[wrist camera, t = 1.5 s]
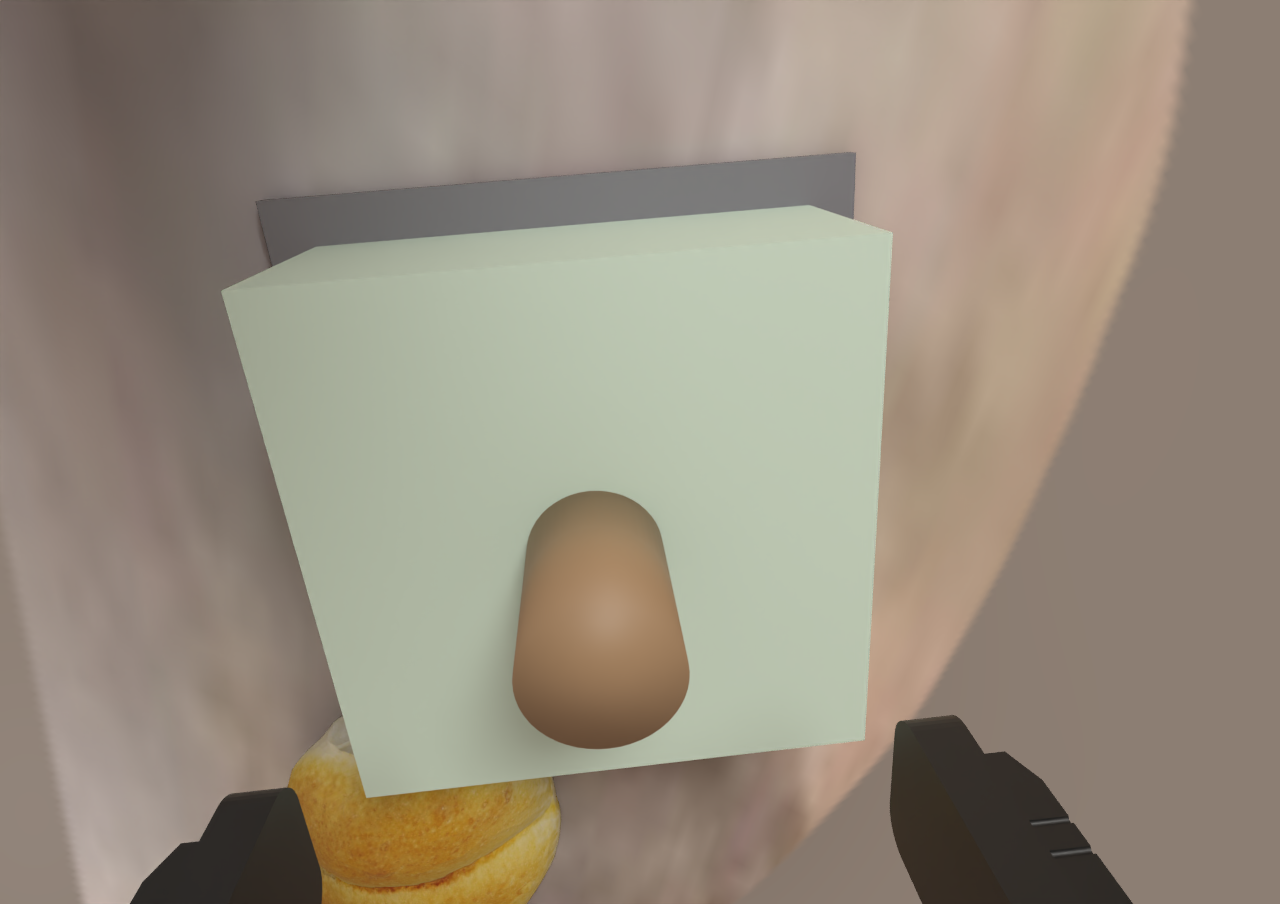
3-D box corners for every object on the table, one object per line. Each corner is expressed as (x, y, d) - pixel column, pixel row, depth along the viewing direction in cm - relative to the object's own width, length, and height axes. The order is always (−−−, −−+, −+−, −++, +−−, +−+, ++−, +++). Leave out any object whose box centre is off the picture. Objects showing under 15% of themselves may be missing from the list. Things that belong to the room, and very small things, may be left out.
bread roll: (339, 899, 27) (302, 1019, 24) (282, 700, 24) (229, 805, 20) (571, 877, 28) (570, 991, 24) (549, 678, 24) (544, 776, 21)
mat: (262, 200, 18) (255, 201, 18) (850, 152, 19) (856, 152, 18) (383, 679, 24) (380, 687, 23) (834, 630, 24) (838, 637, 24)
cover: (315, 246, 18) (85, 353, 10) (809, 204, 19) (1009, 271, 10) (410, 654, 23) (312, 971, 14) (804, 611, 23) (937, 892, 15)
